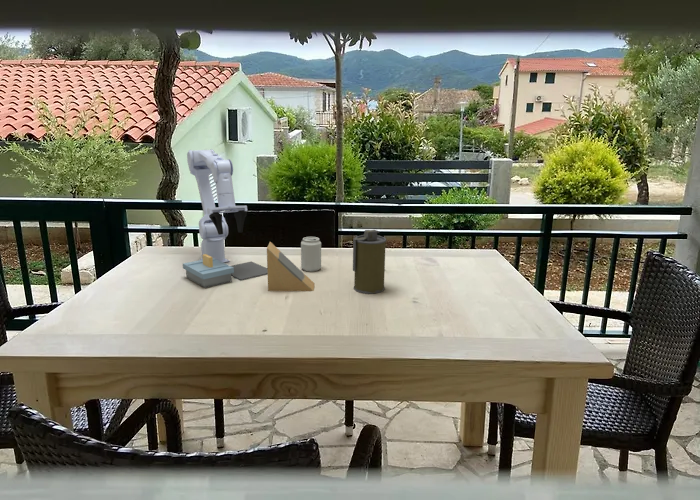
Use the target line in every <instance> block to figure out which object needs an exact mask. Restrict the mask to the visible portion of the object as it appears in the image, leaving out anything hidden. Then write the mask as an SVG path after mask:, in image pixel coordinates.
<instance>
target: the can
mask: <svg viewBox="0 0 700 500" xmlns="http://www.w3.org/2000/svg"><path fill="white" fill-rule="evenodd" d="M300 259H301V260H300V267H301V269H302V270H303V271H304V272H310V273H313V272H317V271H319V270H320V269H321V268H322V242H321V240H320V238H319V237H316V236H306V237H303V238H302V240H301V242H300Z"/></svg>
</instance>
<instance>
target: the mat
mask: <svg viewBox="0 0 700 500" xmlns="http://www.w3.org/2000/svg"><path fill="white" fill-rule="evenodd" d="M230 266H231V267H233V268H234V273H231V277H232V276H233V278H234V279H236V280H238V281H245V280H250V279H254V278H258V277H262V276H266V275H267V276H268V274H267V266H266V267H265V266H263V265H260V264H258V263H255V262H253V261H247V262H243V263H239V264H238V263H237V264H233V265H230Z"/></svg>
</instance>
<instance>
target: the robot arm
mask: <svg viewBox="0 0 700 500" xmlns="http://www.w3.org/2000/svg"><path fill="white" fill-rule="evenodd" d="M186 155H187V156H186V158H187V159H186V160H187V165H188V170H189V172H190V174H191V175H193V176H195V177H194V178H195V180H196V183H197V188H198V192H199V197H200V202H201V206H202V207H201V208H202V210H203V216H202V217H201V218H200V219H199V221H198V231H199V236H200V238H201V239H202V241H201V242H200V244H201V245H200V249H201V250H200V251H201V258H199V260H203V256H202V255H203V254H207V255H209V256H211V257H212V258H214V259H216V260H218V261H221V262H223V263H225V264H226V263H228V262H230V260H229V259H227V258H226V256H225V255H226V254H225V252H226V251H225V240H226V238H227V237H228V235H229V226H228V224H227V221H226V218H225V217H224V216H223V214H226V213H227V214H228V213H234V214H233V215H234V218H235V222H236V227H237V232H238V233H239V234H240V233H243V232H244V231H243V230H244V223H245V220H246V216H247V212H248V206H247V205H236V199H235V193H234V185H233V177H232V176H233V175H234V174H233V173H234V167H233V162H232V160H231V159H230V158H227V159H224V158H223V157H222V156H220V155H219V154H218V153H216V152H215V151H214V149H212V148H211V149H196V150H195V149H189V150H188V151H187V153H186ZM211 174H212V179H213V182H214V184H215V191H216V197H217V204H218V207H217V206H216V204H215V198H214V194H213V190H212V186H211V182H210V175H211Z"/></svg>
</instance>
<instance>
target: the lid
mask: <svg viewBox="0 0 700 500" xmlns="http://www.w3.org/2000/svg"><path fill="white" fill-rule="evenodd" d="M202 256H203V260H200V259H199V260H194V261H189V262H183V263H182V269H184V270H185V271H186V270H187V271H189V272H190V273H192V274H194V275H196V276H198V277H200V278H201V279H208V278H212V277H217V276H221V275H226V274H231V273H234V268H233V267H231V266H232V265H229V264H227V263H226V262H225V263H223V262H221V261H218V260H216V259H214V258H212V257H211V256H209V255H207V254H203V255H202V254H201V257H202Z"/></svg>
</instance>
